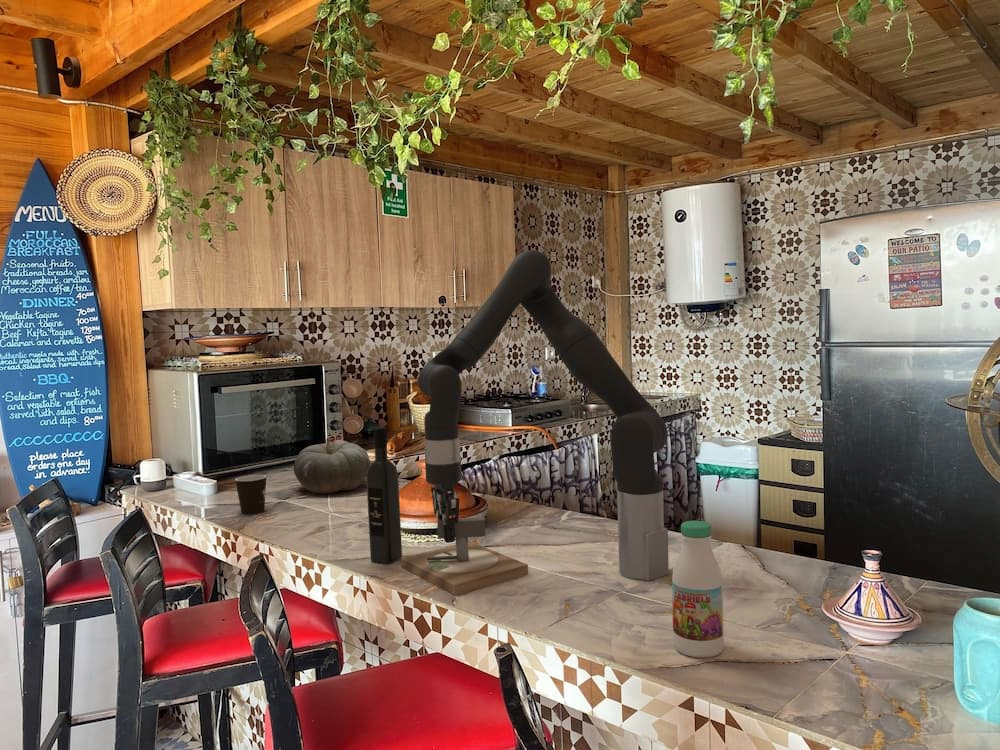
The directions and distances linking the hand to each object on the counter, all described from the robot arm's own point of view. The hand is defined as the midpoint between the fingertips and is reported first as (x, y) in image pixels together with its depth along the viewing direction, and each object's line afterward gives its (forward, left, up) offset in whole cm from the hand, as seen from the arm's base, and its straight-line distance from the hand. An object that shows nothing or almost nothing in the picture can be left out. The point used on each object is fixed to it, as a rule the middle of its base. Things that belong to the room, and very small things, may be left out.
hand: (446, 538), depth 156 cm
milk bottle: (-58, -11, -7) cm, 59 cm away
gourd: (+94, -15, -7) cm, 96 cm away
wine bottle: (+16, +6, -7) cm, 19 cm away
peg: (-1, -2, -5) cm, 5 cm away
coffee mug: (+84, +14, -7) cm, 86 cm away
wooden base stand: (-2, -3, -7) cm, 8 cm away
